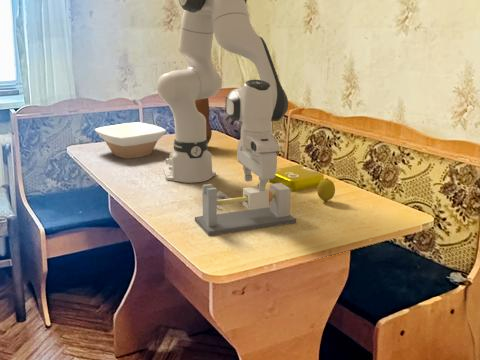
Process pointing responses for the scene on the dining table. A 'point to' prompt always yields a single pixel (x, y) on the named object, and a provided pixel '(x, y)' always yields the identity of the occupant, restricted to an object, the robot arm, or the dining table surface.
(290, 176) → the element tile
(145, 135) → the bowl
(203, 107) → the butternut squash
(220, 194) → the pliers
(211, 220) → the cord rig
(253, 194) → the sleeve
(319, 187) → the lemon
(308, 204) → the dining table surface
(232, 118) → the robot arm
